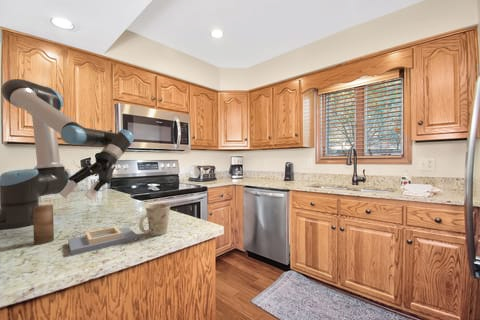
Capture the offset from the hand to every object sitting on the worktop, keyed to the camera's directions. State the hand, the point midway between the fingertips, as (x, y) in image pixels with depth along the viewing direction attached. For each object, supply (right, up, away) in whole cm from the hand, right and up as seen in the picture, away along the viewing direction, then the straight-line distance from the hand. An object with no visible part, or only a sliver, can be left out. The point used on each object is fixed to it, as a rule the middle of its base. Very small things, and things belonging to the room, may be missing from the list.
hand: (74, 196), depth 82 cm
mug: (+31, -14, -3) cm, 34 cm away
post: (-4, -14, -9) cm, 17 cm away
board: (+17, -14, -9) cm, 24 cm away
